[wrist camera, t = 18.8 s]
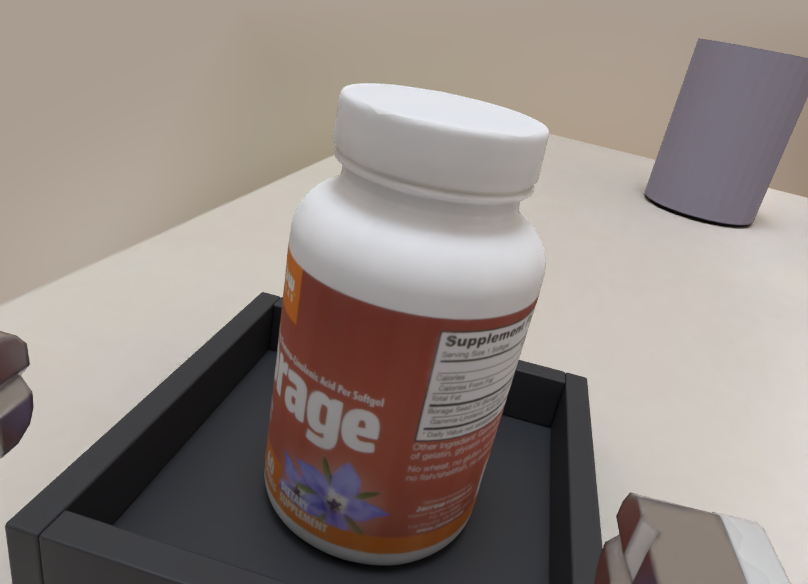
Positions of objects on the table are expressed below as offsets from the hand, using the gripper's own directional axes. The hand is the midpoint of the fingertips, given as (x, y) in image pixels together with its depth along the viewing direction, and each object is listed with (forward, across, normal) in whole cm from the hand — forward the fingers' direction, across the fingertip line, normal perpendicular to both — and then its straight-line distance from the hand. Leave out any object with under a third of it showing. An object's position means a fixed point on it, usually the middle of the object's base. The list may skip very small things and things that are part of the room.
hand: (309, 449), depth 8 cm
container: (+58, -22, +8) cm, 63 cm away
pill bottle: (+8, 0, +8) cm, 11 cm away
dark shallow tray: (+8, 0, +8) cm, 11 cm away
